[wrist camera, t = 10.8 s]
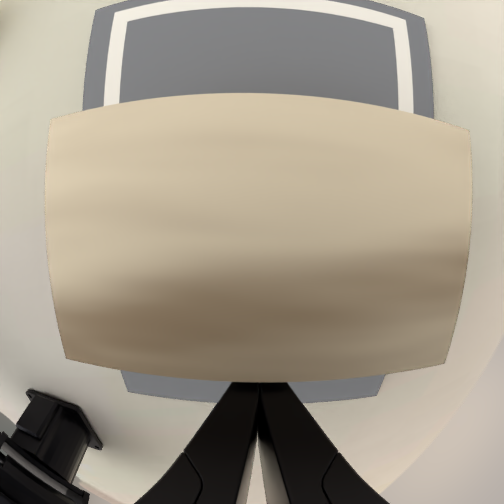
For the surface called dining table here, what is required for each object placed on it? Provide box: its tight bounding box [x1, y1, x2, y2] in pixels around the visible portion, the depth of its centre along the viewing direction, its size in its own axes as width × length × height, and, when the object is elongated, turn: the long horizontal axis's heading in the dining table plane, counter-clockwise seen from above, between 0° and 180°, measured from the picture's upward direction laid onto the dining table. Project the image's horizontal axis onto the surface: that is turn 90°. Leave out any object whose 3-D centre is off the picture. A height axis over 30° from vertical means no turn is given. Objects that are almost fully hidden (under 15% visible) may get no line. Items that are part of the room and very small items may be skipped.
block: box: [45, 93, 472, 382], centre depth 8 cm, size 6×10×6 cm
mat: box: [83, 0, 434, 403], centre depth 12 cm, size 22×16×1 cm
